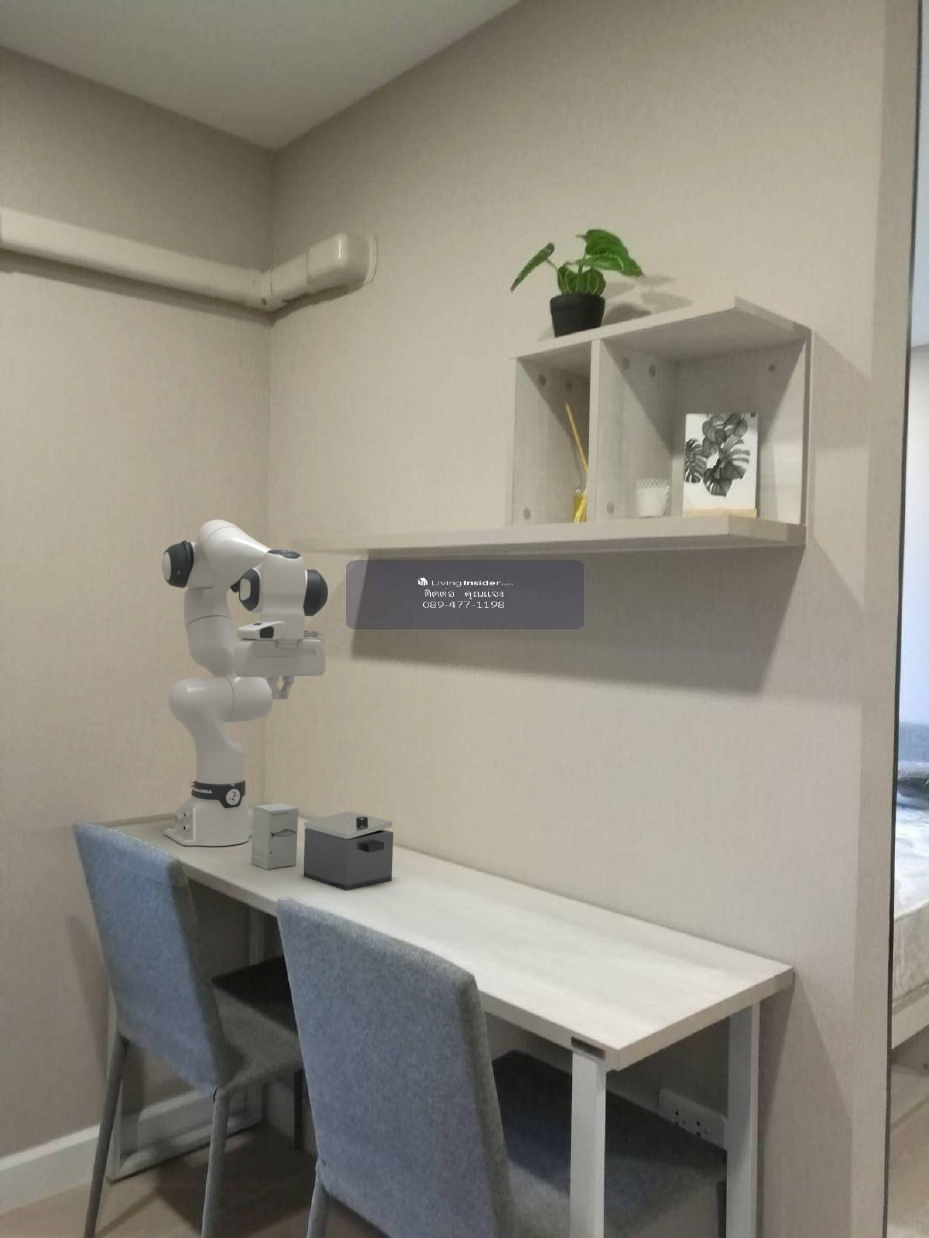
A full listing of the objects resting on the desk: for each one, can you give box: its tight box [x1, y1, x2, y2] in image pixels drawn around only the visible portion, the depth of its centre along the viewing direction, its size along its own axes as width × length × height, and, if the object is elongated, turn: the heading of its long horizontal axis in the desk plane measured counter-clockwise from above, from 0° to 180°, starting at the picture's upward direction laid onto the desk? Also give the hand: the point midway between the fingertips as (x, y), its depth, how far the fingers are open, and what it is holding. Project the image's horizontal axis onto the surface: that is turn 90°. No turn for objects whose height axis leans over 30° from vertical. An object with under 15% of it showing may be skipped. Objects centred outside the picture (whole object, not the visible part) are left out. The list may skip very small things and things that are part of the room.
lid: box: [303, 810, 394, 839], centre depth 204 cm, size 14×12×3 cm
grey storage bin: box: [303, 827, 394, 892], centre depth 204 cm, size 18×12×10 cm
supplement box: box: [250, 802, 299, 871], centre depth 214 cm, size 7×7×13 cm
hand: (279, 699), depth 198 cm, fingers closed
